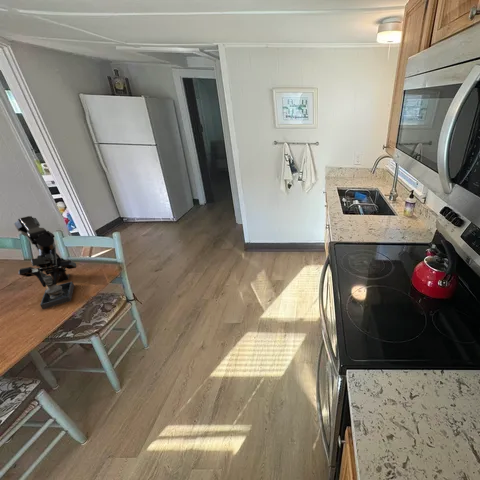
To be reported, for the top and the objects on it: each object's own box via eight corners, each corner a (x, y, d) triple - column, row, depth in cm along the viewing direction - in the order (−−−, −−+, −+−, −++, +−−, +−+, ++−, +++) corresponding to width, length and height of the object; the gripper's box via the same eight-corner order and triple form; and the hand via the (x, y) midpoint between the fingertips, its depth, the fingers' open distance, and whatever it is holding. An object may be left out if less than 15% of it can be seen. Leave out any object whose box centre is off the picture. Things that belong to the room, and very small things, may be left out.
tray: (49, 292, 134) (46, 288, 132) (74, 286, 139) (72, 281, 137) (43, 309, 123) (39, 304, 121) (71, 301, 128) (68, 296, 126)
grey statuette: (55, 299, 124) (43, 279, 119) (45, 298, 125) (33, 277, 120) (68, 292, 129) (57, 271, 124) (58, 290, 130) (47, 270, 125)
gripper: (9, 253, 116) (9, 288, 112) (63, 245, 123) (65, 277, 120) (26, 260, 126) (27, 292, 122) (75, 252, 133) (78, 281, 130)
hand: (49, 285), depth 123 cm, fingers closed on grey statuette, 3 cm apart
